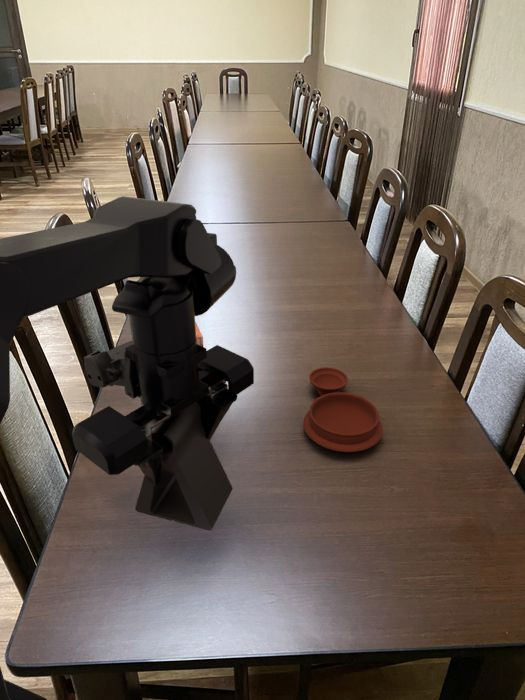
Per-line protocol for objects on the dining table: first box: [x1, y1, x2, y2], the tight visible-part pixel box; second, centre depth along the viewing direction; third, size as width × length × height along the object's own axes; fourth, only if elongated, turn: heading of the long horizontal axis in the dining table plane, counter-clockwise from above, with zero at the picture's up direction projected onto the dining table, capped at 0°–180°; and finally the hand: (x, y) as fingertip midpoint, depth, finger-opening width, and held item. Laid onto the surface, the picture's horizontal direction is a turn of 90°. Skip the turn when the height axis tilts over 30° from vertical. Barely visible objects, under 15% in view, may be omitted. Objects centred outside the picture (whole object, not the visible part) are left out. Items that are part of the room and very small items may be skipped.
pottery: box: [303, 366, 384, 453], centre depth 83 cm, size 12×20×4 cm, turn 5°
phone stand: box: [134, 402, 234, 532], centre depth 56 cm, size 9×6×12 cm, turn 71°
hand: (177, 465), depth 57 cm, fingers closed on phone stand, 6 cm apart
